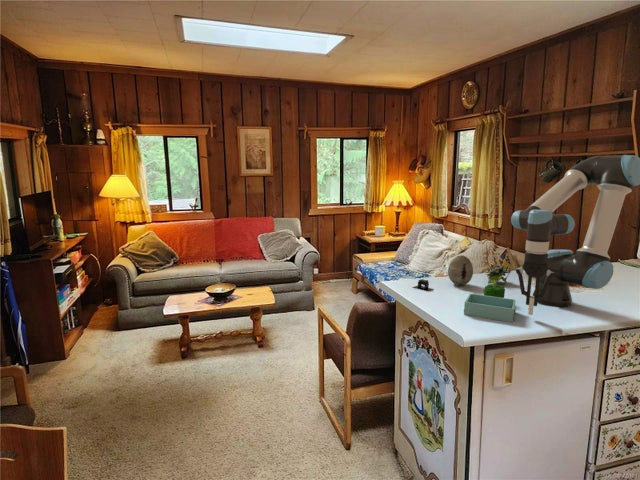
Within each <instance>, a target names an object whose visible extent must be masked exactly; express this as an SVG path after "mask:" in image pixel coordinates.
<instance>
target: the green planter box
mask: <svg viewBox="0 0 640 480" xmlns="http://www.w3.org/2000/svg"><path fill="white" fill-rule="evenodd" d="M463 307H464V309H463V315H464V316H465V315H466V316H469V317H472V316H473V317H476V318H477V317H478V318H482V319H490V320H495V321H496V320H497V321H501V322H502V321H503V322H507V323H508V322H509V323H513V321H514V320H515V313H516V299H515V298H513V299H512V298H506V297H504V298H500V297H493V296H485V295H484V294H477V293H471V292H470V293H469V294H468V296H467V297H466V300H465V301H464V306H463Z"/></svg>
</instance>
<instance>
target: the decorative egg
mask: <svg viewBox="0 0 640 480" xmlns="http://www.w3.org/2000/svg"><path fill="white" fill-rule="evenodd" d="M447 275H448V278H449V280H450V281H451V282H452V283H453V284H454V285H457V286H465V285H467V284H469V282H471V280H472V278H473V275H474V267H473V264H472V261H471V260H470V259H469V257H468V256H466V255H463V254H462V255H461V254H460V255H457V256H455V257H453V259H452V260H451V261H450V263H449V266H448V268H447Z"/></svg>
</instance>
